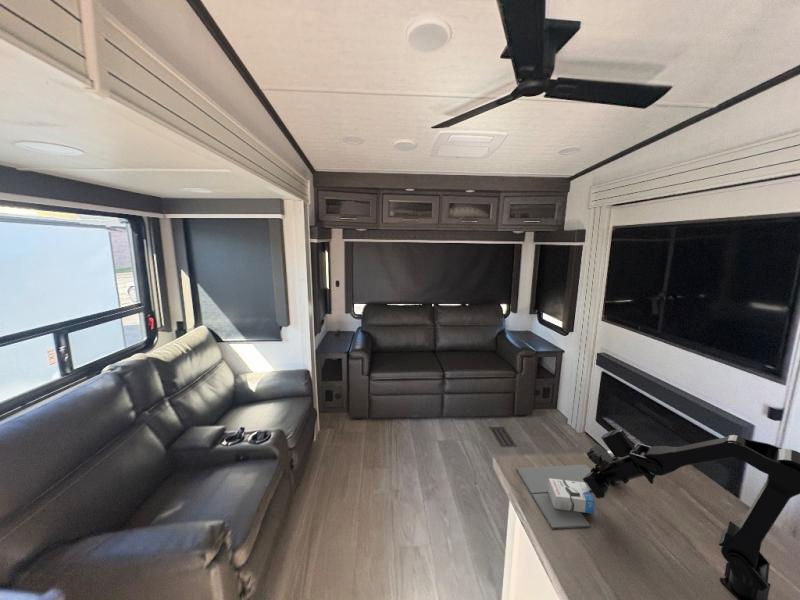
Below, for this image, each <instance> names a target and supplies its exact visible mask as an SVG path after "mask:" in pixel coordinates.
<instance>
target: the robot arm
mask: <svg viewBox="0 0 800 600" xmlns="http://www.w3.org/2000/svg"><path fill="white" fill-rule="evenodd" d="M600 438H601V440H602V441H603V443H604V444H605V445H606V446H607V448H608V449H609V451H611V452H612V453H613V454H612V453H608V452H607V451H608V450H606V449H604V447H602V446H601V445H599V444H598V443H595V444H593V446H591V448H590V449H589V450H588V451H587V452H586V456H587V458H588V459H589V460H590V461H591V462H592V463H593V464H595V466H594V467H592V469H591V471H590V473H589V474H587V475H586V476H585V477H584V478H583V481H584V482H586V483H587V484H588V486H589V487H590V489H591V490H592V491H591V492H592V493H593V494H594V496H595V498H597V499H604V498H605V497H606V495H608V493H609V491H608V489H609V487H610V486H611V487H615V486H616V485H617V484H620V483H622V482H623V484H628V483H629V481H631V480H635V479H639V478H642V477H643V478H644V477H645V478H646V479H647V482H649V483H650V484H652V485H653V484H654V483H655V481H656V479H657V476H661V477H662V476H664V475H668V474H670V473H673V472H675V471H676V470H678V469H680V468H683V467H685V466H690V465H696V464H701V463H710V462H715V461H721V460H728V459H732V458H735V459H738V460H740V461H743V462H745V463H746V464H747V465H750V466H751V467H753V468H754V469H756V470H757V471H760V472H762V473H764V474H765V475H767V478H766V480H765V482H764V485H763V486H762V487H761V489H760V491H759V492H758V494H757V496H756V498H755V499H754V501H753V502H752V504H751V506H750V507H749V509H748V511H747V512H746V514H745V516H744V517H743V519H742V520H741V522H740V523H737V524H735V523H734V522H732V521H731V520H728V522H727V525H726V527H725V528H723V529H722V532H721V535H720V539H719V542H718V546H720V547H721V548H720V549H721V550H720V553H721V555H722V557H723V558H724V559H725V560H726V561H727V562H726V564H725V569H724V577H719V582H720V583H722V584H723V585H724V586H725V588H727V589H728V590H729V591H730V592H731V593H732V595H734V596H735V598H737V600H769V594H770V590H771V586H772V585H771V583H769V575H770V567H771V566H770V562H769V561H768V559H766V557H765V556H764V555H763V554H762V552H761V547H762V543H763V541H764V539H765V538H766V536H767V535H768V533H769V532H770V530H771V528H772V527H773V525H774V524H775V522H776V521H777V519H778V517H779V516H780V514H781V513H782V511H783V510H784V508H785V507H786V505H787V504H788V502H789V501H790V500H791V498H794V497H796V496H798V495H800V451H797V450H793V449H791V448H782V447H779V446H777V445H773V444H770V443H767V442H762V441H757V440H752V439H748V438H746V437H743V436H740V435H736V434H728V435H727V436H725V437H720V438H715V439H710V440H705V441H701V442H696V443H691V444H686V445H682V446H681V445H680V446H667V445H654V446H650V445H646V444H643V443H639V442H636V443H635V444H634V443H633V442H632V440H631V439H630V438H629V437H628V435H627V433H626V432H625V431H624V430H623V429H622V428H621V429H616V430H615V429H612V430H609V431H608V432H606V433H604V434H602V436H601V437H600ZM642 453H644V454H643V455H642ZM619 457H620V458H619ZM609 490H610V489H609Z"/></svg>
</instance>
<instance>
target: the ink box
mask: <svg viewBox="0 0 800 600" xmlns="http://www.w3.org/2000/svg"><path fill="white" fill-rule="evenodd" d="M548 493H549V495H550V498H551V501H552V503H553V506H554V508H555V509H562V510H569V511H577V512H581V513H585V514H586V513H587V514H594V513H595V499H594V497H593V495H592V494H591V491H589V490H588V488H587V486H586V484H585V483H584V482H576V481H568V480H559V479H551V478H549V481H548Z"/></svg>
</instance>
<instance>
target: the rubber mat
mask: <svg viewBox="0 0 800 600" xmlns="http://www.w3.org/2000/svg"><path fill="white" fill-rule="evenodd" d="M591 470H592V469H591V468H590V467H589V466H588V465H587V464H574V465H551V466H550V465H549V466H547V465H546V466H531V467H530V466H529V467H528V466H527V467H516V471H517V472H518V474H519V476H520V477H521V479H522V481H523V482H524V485H525V487H526V489H528V491H529V493H530V495H531V496H532V498H533V500H534V501H535V502H536V505H537V507H538V508H539V509H540V511H541V513H542V514H543V516H544V518H545V519H547V520H546V521H547V523H548V525H549V524H550V525H549V526H550V528H551V529H552V530H553V528H558V529H574V528H575V529H576V528H591V524H590V523H589V522H588V521H587V519H586V518H585V517H584V515H583V513H582V512H577V511H569V510H562V509H555V508H554V506H553V503H552V501H551V498H550V495H549V493H548V481H549V478H551V479H559V480H568V481H576V482H584V481H583V478H584V477H585V476H586V475H587V474H589V473H590V471H591ZM584 483H585V484H586V486H587V488H588V490H589V492H592V490H591V489H590V487H589V486H588V484H587V483H586V482H584ZM609 490H610V489H608V492H609Z"/></svg>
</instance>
